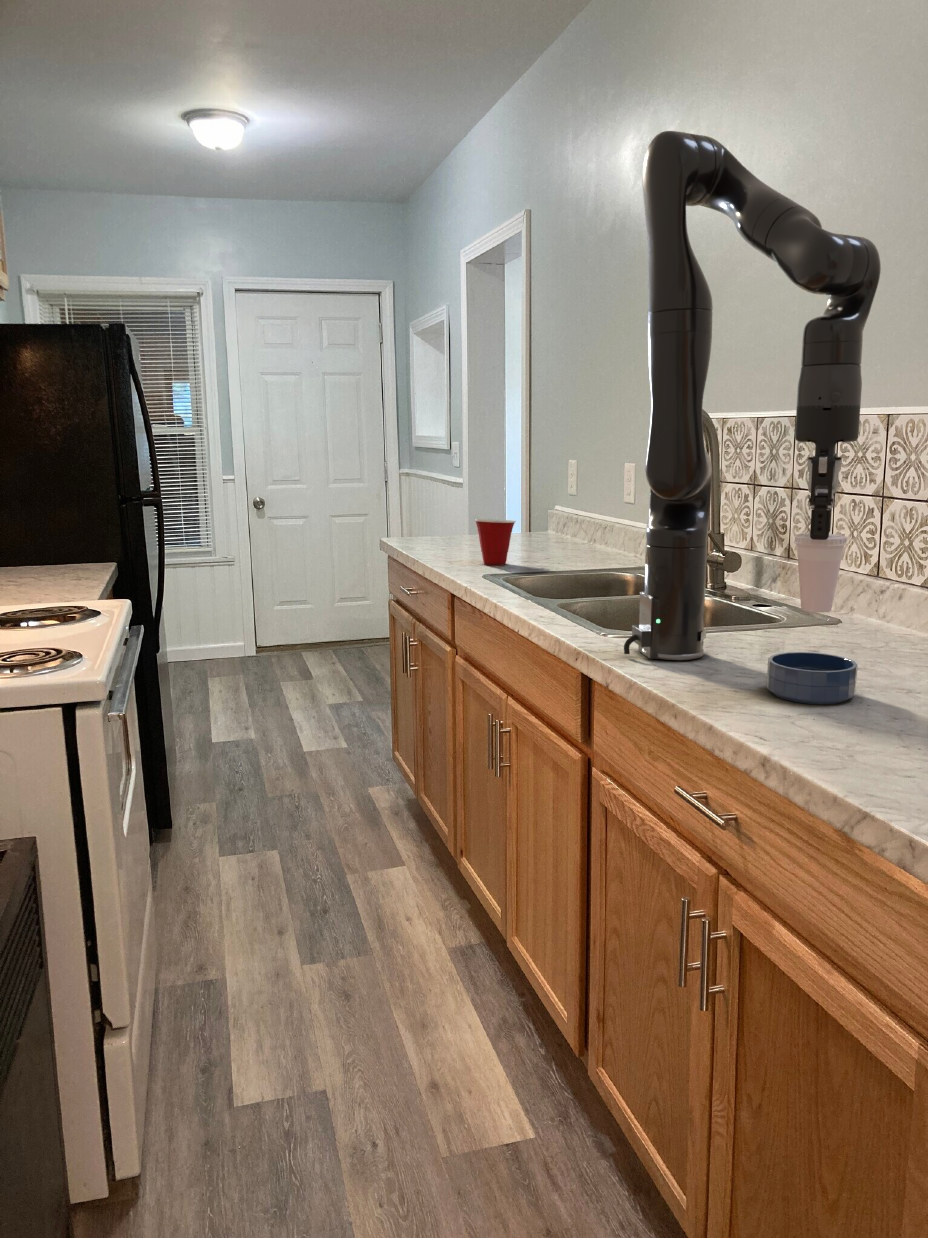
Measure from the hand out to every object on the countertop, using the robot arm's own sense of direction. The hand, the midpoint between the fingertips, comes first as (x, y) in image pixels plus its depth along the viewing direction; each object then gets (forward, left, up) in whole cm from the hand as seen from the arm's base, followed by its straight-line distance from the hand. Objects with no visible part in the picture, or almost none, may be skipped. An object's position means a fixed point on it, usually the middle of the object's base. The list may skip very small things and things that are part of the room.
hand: (820, 535), depth 124 cm
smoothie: (0, 0, -10) cm, 10 cm away
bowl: (0, 0, -21) cm, 21 cm away
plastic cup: (-20, +131, -21) cm, 134 cm away
